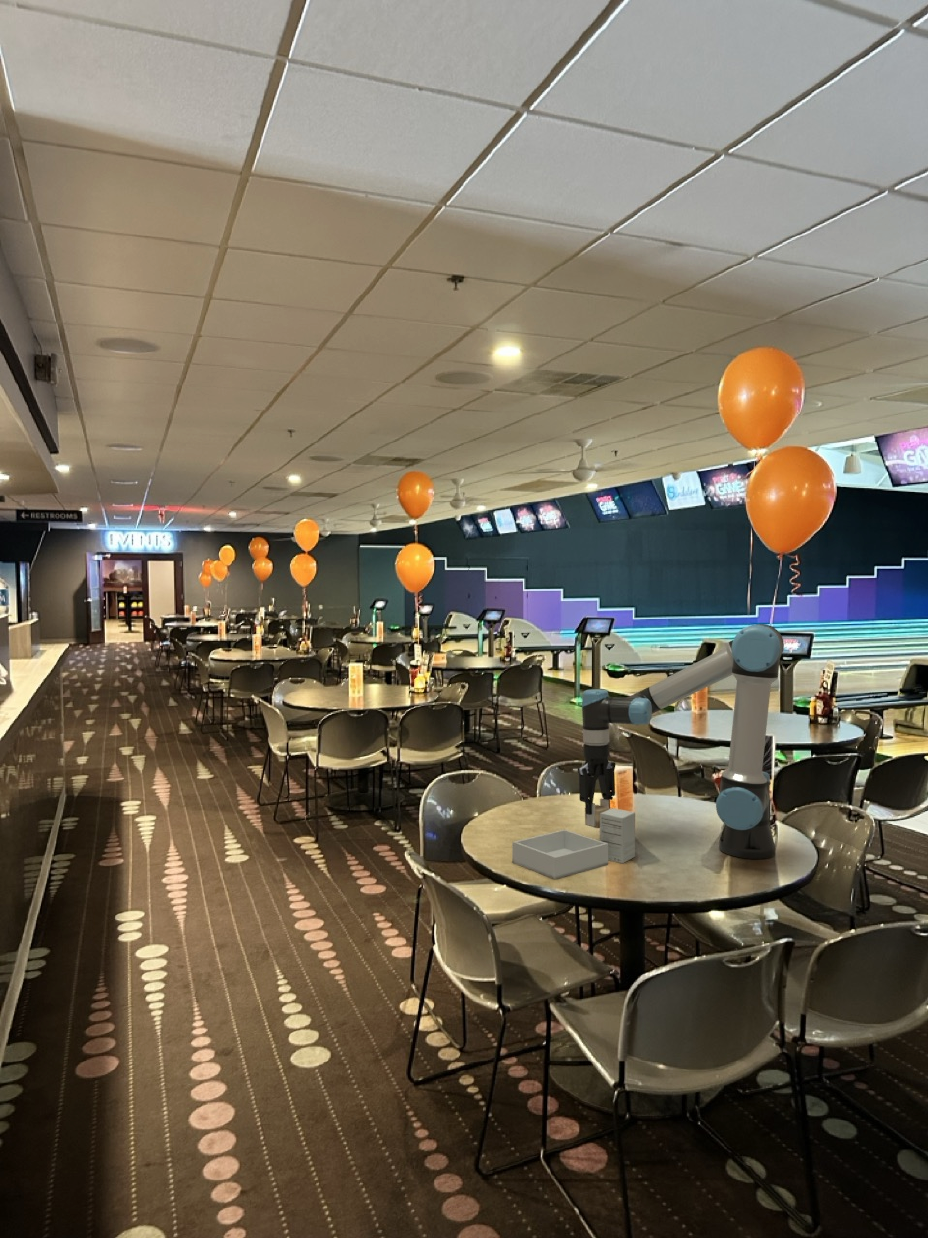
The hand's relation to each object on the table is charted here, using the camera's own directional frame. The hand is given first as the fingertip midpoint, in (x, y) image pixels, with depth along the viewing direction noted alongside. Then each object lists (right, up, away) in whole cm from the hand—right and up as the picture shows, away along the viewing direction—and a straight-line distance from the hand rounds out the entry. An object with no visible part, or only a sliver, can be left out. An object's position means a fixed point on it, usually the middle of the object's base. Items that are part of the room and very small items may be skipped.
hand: (598, 823), depth 240 cm
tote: (-13, -7, -16) cm, 22 cm away
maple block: (0, -1, 0) cm, 1 cm away
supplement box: (+3, -7, -11) cm, 14 cm away
